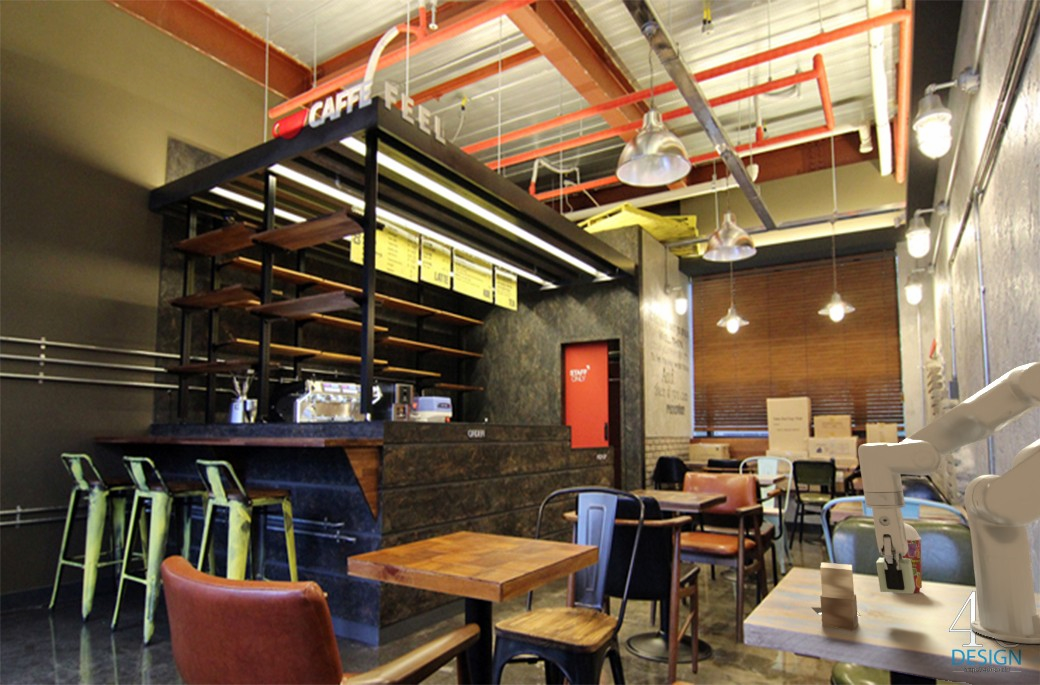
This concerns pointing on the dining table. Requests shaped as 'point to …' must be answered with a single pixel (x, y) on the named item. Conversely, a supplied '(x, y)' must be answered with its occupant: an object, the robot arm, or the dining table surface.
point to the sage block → (906, 571)
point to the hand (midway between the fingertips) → (897, 585)
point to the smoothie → (914, 554)
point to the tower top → (837, 581)
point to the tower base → (839, 613)
